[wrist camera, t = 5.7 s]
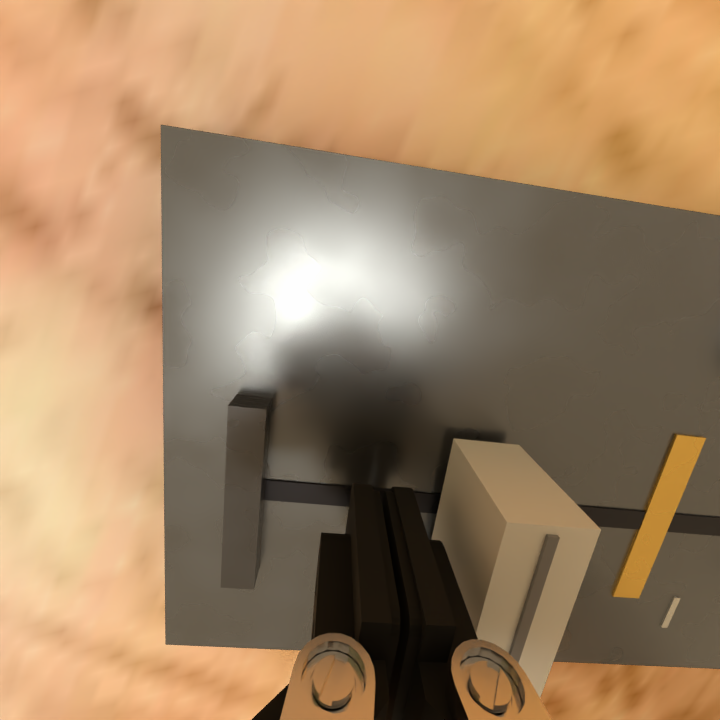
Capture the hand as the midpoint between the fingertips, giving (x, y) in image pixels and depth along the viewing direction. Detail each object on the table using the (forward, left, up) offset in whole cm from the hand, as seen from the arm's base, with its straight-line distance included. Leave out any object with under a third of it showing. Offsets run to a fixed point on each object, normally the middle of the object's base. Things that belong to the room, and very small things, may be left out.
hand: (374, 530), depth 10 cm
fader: (-3, 0, -1) cm, 3 cm away
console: (-6, -2, -3) cm, 7 cm away
